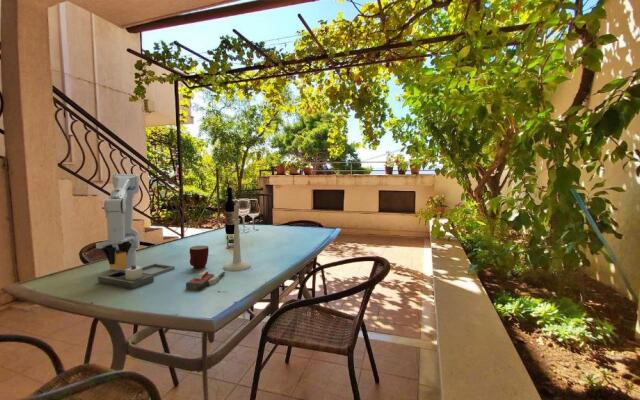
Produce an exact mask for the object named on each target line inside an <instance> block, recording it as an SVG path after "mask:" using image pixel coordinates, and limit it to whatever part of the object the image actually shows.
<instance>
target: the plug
mask: <svg viewBox="0 0 640 400" xmlns="http://www.w3.org/2000/svg"><path fill="white" fill-rule="evenodd" d="M124 267H127V258H126V252H122V251H120V249H117V250H116V252H115V263H114V264H109V268H110V270H113V269H121V268H124Z"/></svg>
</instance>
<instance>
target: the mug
mask: <svg viewBox="0 0 640 400" xmlns="http://www.w3.org/2000/svg"><path fill="white" fill-rule="evenodd" d="M209 250H210V248H209V246H208V245H194V246H191V247H189V256H190V258H189V264H190V266H192V268H194V269H195V270H201V269H205V268H206V266H207V264H208V258H209Z"/></svg>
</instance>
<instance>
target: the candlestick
mask: <svg viewBox="0 0 640 400" xmlns="http://www.w3.org/2000/svg"><path fill="white" fill-rule="evenodd" d="M239 207H240V206H239V204H234V205H233V210H234V211H233V214H234V218H232V221H233V224H234V229H233V230H234V231H233V255H232V256H233V259H232V261H228V262H226V263H225V264H224V265H223V266H222V269H223V271H227V272H241V271H240V270H242V271H246V270H249V269H251V267H252V264H251V263H250V262H249V261H247V260H242V256H241V243H240V242H241V240H240V227H239V224H240V221H241V218H240V217H239V215H240V212H239ZM248 268H249V269H248ZM245 269H246V270H245Z"/></svg>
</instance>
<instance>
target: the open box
mask: <svg viewBox="0 0 640 400" xmlns="http://www.w3.org/2000/svg"><path fill="white" fill-rule="evenodd" d="M154 277H155V276H153V275H147V274H142V277H141V278H138V279H136V280H127V279H126V276H125V271H123V270H119V271H118V270H114V271H113V272H109V273H106V274H102V275H98V277H97V279H98V280H97V282H98V283H99V284H104V285H108V286H109V285H110V286H114V287H119V288H124V289H129V290H134V289H137V288H141V287H143V286H145V285H148V284H151V283H154V281H155V278H154Z"/></svg>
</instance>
